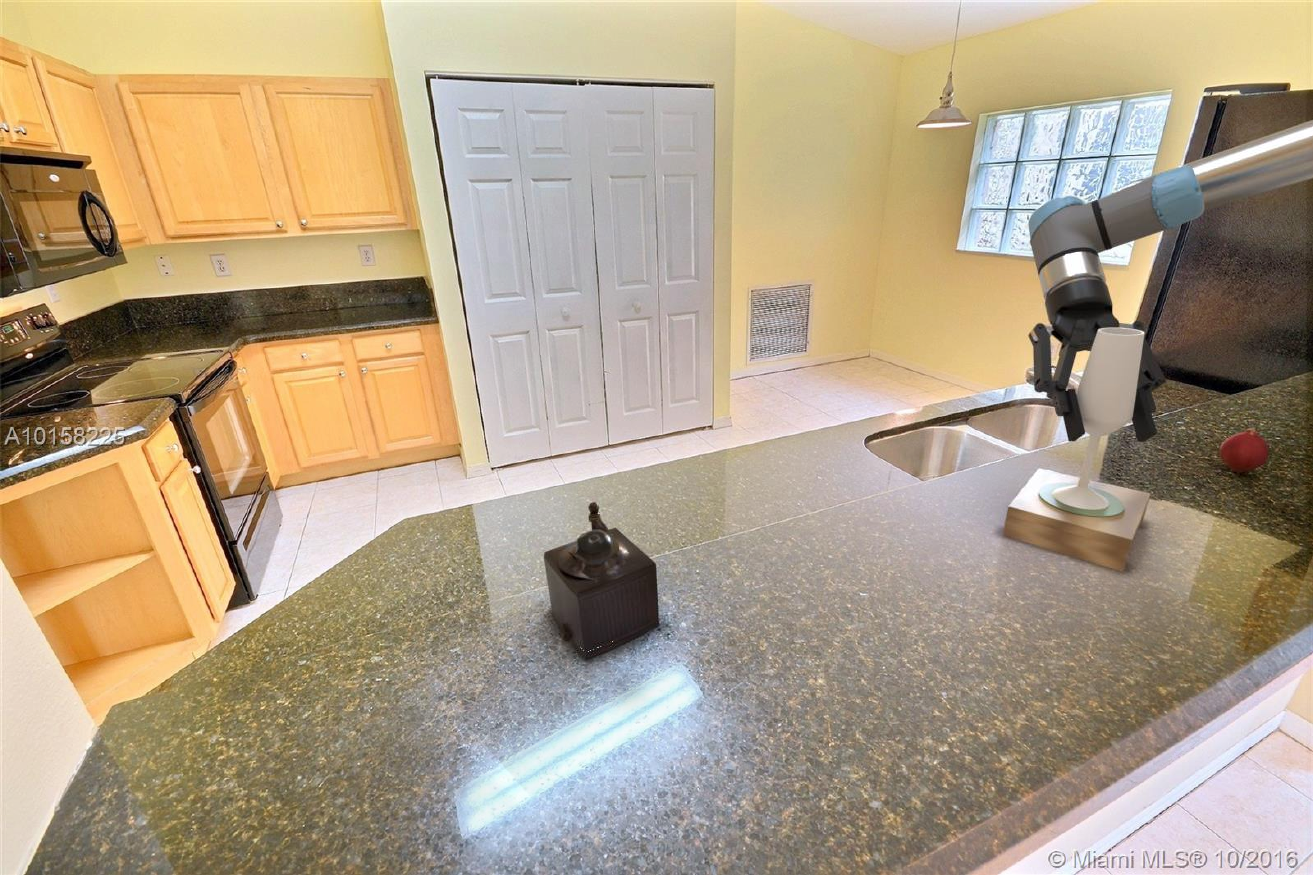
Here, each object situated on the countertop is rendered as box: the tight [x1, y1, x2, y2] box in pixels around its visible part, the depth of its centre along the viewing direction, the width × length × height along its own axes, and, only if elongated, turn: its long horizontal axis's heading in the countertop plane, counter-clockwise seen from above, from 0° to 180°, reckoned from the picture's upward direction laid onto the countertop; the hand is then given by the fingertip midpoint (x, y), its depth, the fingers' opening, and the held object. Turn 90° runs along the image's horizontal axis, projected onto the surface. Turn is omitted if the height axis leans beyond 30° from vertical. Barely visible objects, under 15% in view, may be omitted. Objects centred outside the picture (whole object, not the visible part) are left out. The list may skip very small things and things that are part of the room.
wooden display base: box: [1002, 468, 1152, 572], centre depth 83 cm, size 14×16×5 cm
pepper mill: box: [543, 501, 660, 661], centre depth 66 cm, size 16×11×18 cm
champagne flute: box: [1052, 328, 1145, 510], centre depth 78 cm, size 7×7×24 cm
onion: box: [1219, 428, 1270, 474], centre depth 96 cm, size 6×6×8 cm
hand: (1111, 437), depth 75 cm, fingers open, 8 cm apart
